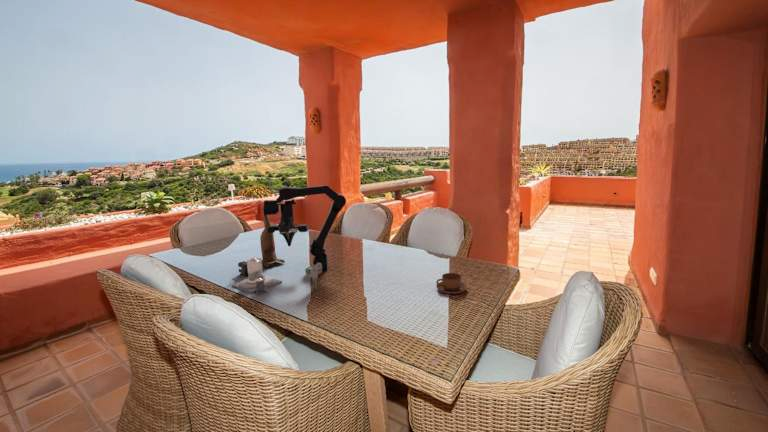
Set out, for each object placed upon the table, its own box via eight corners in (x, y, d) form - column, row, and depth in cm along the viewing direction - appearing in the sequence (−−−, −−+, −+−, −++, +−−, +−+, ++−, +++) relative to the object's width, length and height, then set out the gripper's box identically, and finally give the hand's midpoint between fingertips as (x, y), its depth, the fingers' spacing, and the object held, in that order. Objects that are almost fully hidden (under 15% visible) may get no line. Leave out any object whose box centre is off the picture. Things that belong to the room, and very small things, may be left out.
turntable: (262, 276, 162) (262, 273, 162) (281, 282, 153) (281, 279, 153) (231, 286, 151) (231, 282, 151) (250, 293, 142) (250, 289, 141)
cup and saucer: (448, 298, 131) (448, 283, 130) (430, 288, 142) (430, 274, 141) (473, 292, 137) (473, 277, 136) (453, 283, 147) (453, 269, 146)
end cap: (245, 278, 161) (244, 264, 160) (238, 275, 165) (236, 261, 164) (265, 272, 168) (263, 259, 167) (257, 270, 173) (256, 256, 172)
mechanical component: (324, 284, 149) (322, 262, 148) (311, 293, 140) (310, 269, 138) (318, 284, 150) (316, 261, 149) (305, 292, 141) (304, 269, 139)
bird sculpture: (268, 269, 173) (263, 206, 168) (253, 266, 179) (247, 205, 174) (285, 263, 182) (280, 203, 177) (270, 260, 188) (265, 202, 183)
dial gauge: (267, 292, 142) (266, 279, 141) (257, 294, 140) (256, 281, 139) (264, 289, 145) (262, 276, 144) (254, 292, 143) (253, 278, 142)
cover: (267, 277, 156) (266, 255, 154) (262, 283, 148) (259, 260, 146) (250, 278, 156) (248, 256, 154) (243, 284, 148) (241, 261, 146)
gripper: (261, 217, 155) (264, 250, 158) (303, 216, 155) (305, 249, 158) (269, 213, 166) (272, 245, 169) (308, 212, 166) (310, 244, 169)
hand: (289, 246), depth 166 cm, fingers closed
